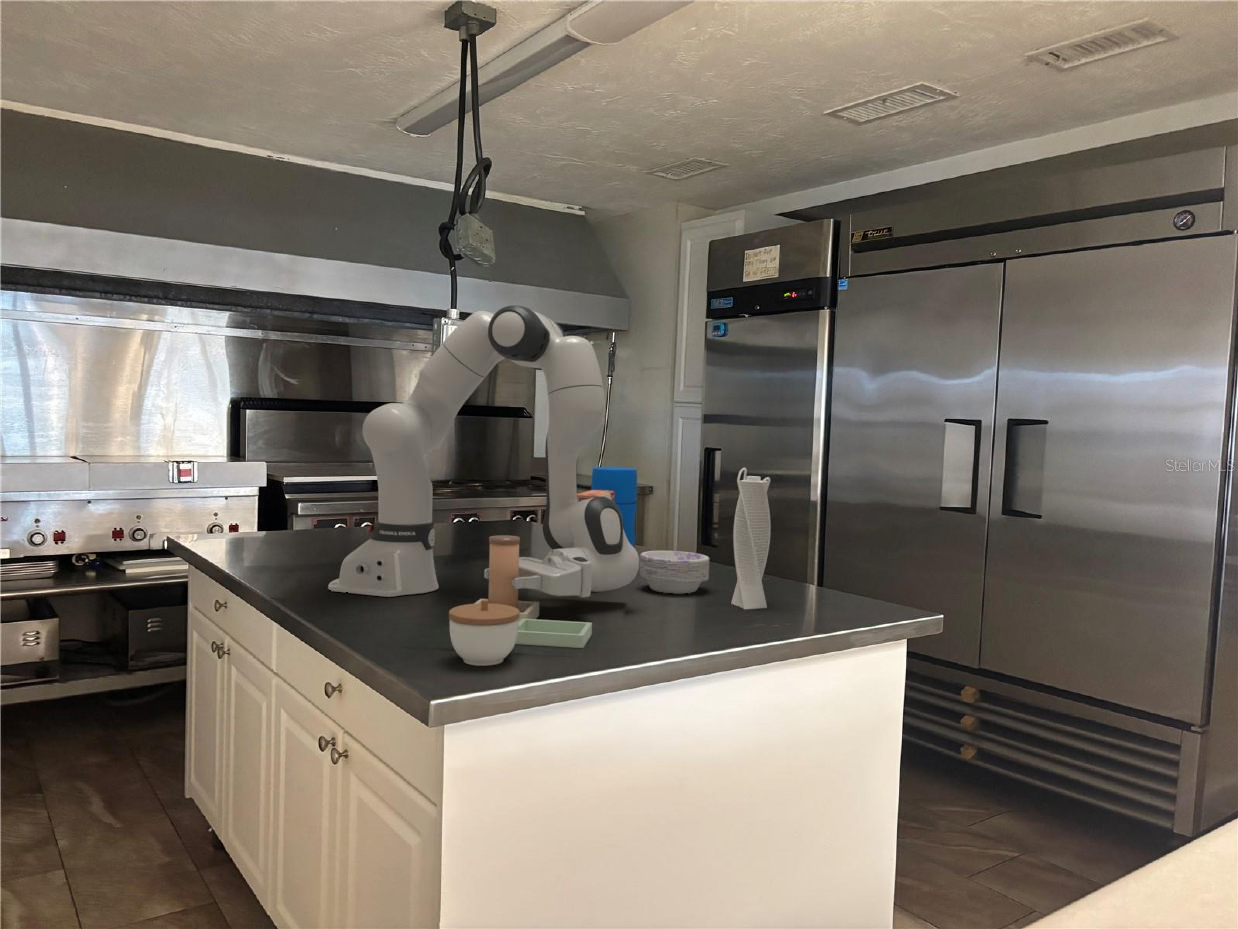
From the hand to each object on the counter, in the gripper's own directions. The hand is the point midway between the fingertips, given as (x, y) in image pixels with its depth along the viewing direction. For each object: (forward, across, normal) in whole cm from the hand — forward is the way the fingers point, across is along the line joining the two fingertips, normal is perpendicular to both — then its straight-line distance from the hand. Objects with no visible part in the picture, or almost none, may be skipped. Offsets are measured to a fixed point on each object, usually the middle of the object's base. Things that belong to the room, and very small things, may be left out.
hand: (499, 578), depth 160 cm
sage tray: (-1, +16, +8) cm, 18 cm away
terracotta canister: (-1, 0, +8) cm, 8 cm away
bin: (+3, -4, +9) cm, 10 cm away
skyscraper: (-52, +11, +9) cm, 54 cm away
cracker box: (-36, -21, +9) cm, 43 cm away
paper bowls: (-49, -9, +9) cm, 51 cm away
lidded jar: (+13, +18, +9) cm, 24 cm away
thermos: (-51, -33, +9) cm, 61 cm away
